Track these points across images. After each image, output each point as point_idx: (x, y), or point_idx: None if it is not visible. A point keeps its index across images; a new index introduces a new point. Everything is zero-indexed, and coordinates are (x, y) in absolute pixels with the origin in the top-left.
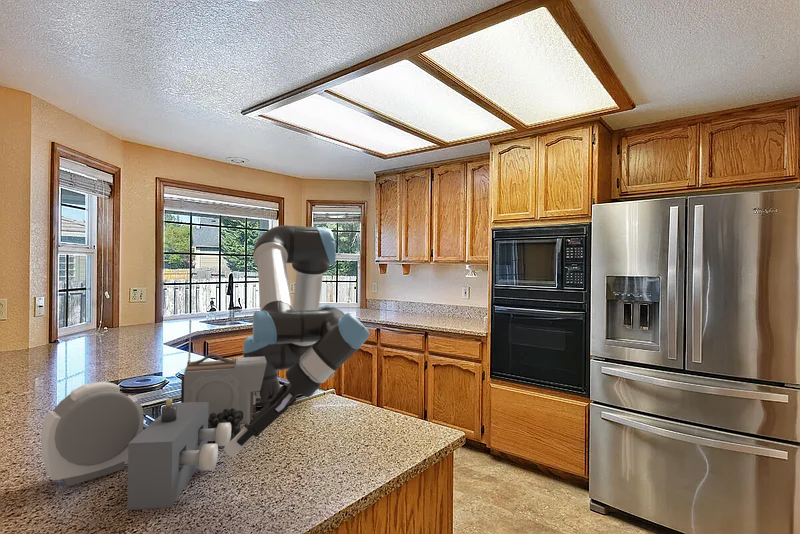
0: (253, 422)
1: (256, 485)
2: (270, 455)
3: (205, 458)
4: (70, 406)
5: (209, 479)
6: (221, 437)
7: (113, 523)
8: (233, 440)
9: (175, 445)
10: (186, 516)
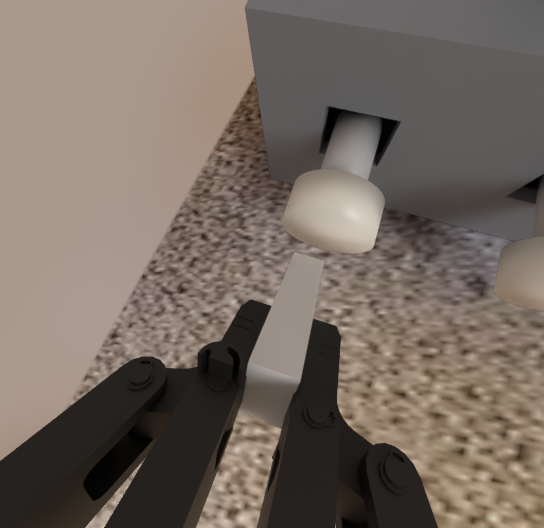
0: (165, 428)
1: None
2: (494, 459)
3: (289, 199)
4: None
5: (375, 254)
6: (514, 266)
7: (257, 93)
8: (280, 287)
9: (283, 51)
10: (220, 207)
